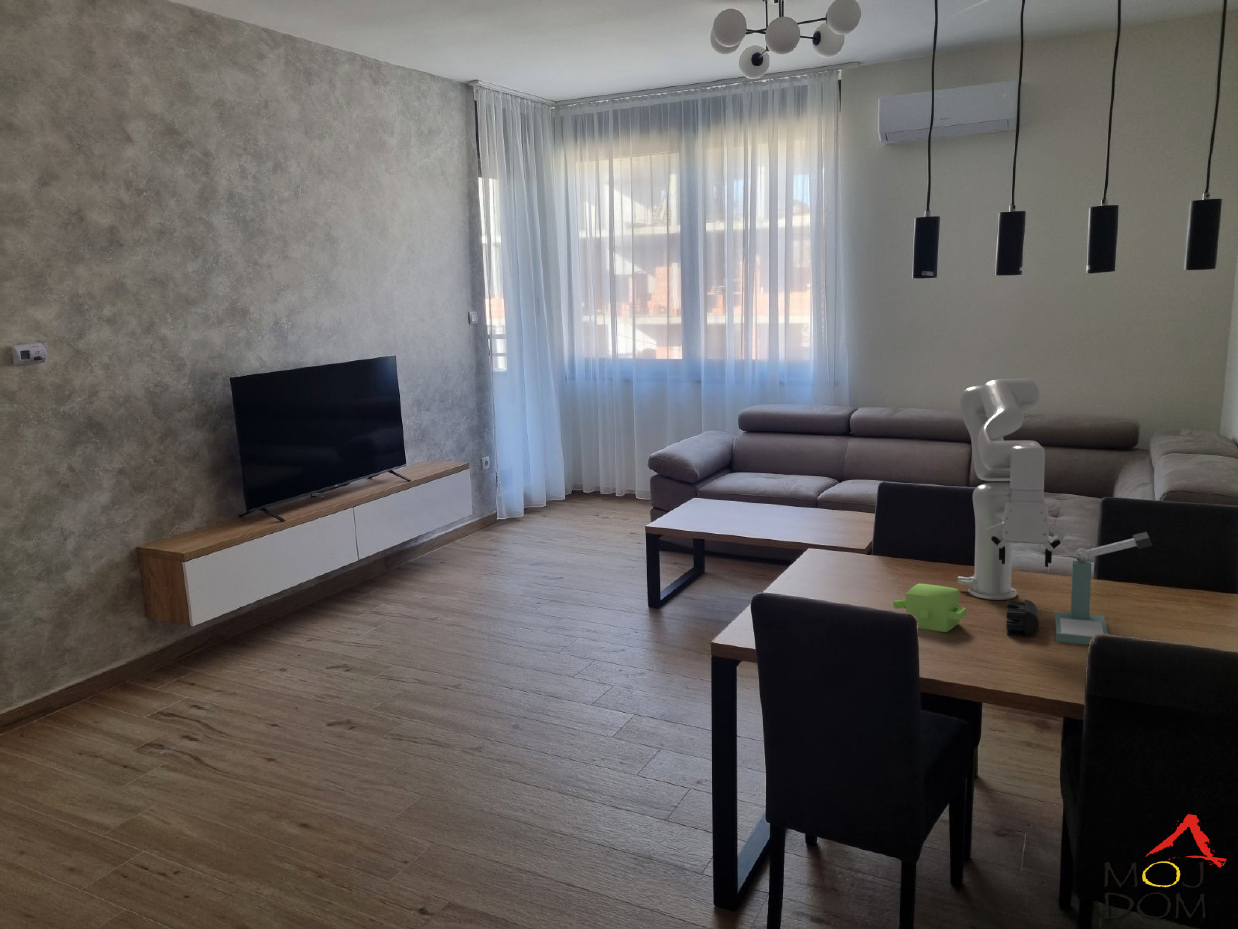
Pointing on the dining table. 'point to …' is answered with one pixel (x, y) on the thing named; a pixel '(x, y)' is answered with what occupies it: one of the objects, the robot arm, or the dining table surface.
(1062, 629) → the press frame
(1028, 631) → the end cap
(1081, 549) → the press lever
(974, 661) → the dining table surface
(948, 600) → the gearbox
